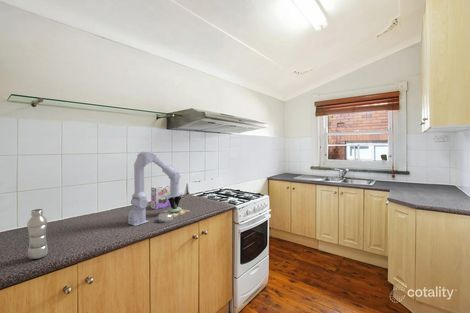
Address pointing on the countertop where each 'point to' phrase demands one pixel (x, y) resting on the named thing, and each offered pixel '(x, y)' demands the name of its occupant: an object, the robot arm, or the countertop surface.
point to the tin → (165, 217)
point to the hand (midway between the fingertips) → (174, 207)
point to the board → (176, 212)
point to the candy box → (160, 197)
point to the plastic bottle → (37, 235)
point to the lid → (175, 208)
